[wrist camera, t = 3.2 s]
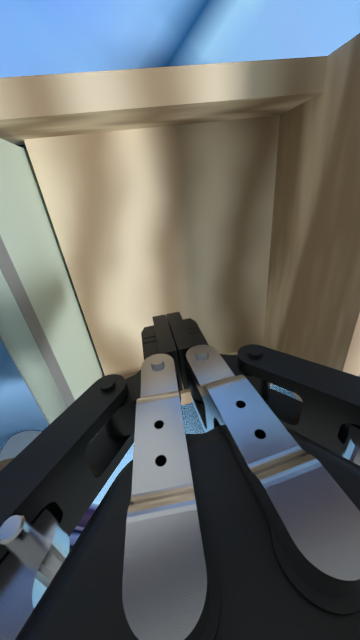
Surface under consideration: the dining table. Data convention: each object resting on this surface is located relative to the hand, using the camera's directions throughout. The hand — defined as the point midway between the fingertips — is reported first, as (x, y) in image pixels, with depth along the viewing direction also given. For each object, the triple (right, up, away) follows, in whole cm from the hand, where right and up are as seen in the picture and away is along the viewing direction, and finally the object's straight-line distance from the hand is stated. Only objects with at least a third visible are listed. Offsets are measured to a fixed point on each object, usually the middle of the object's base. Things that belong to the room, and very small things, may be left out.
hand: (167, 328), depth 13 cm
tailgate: (-10, +3, +8) cm, 14 cm away
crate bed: (-1, +5, +10) cm, 11 cm away
